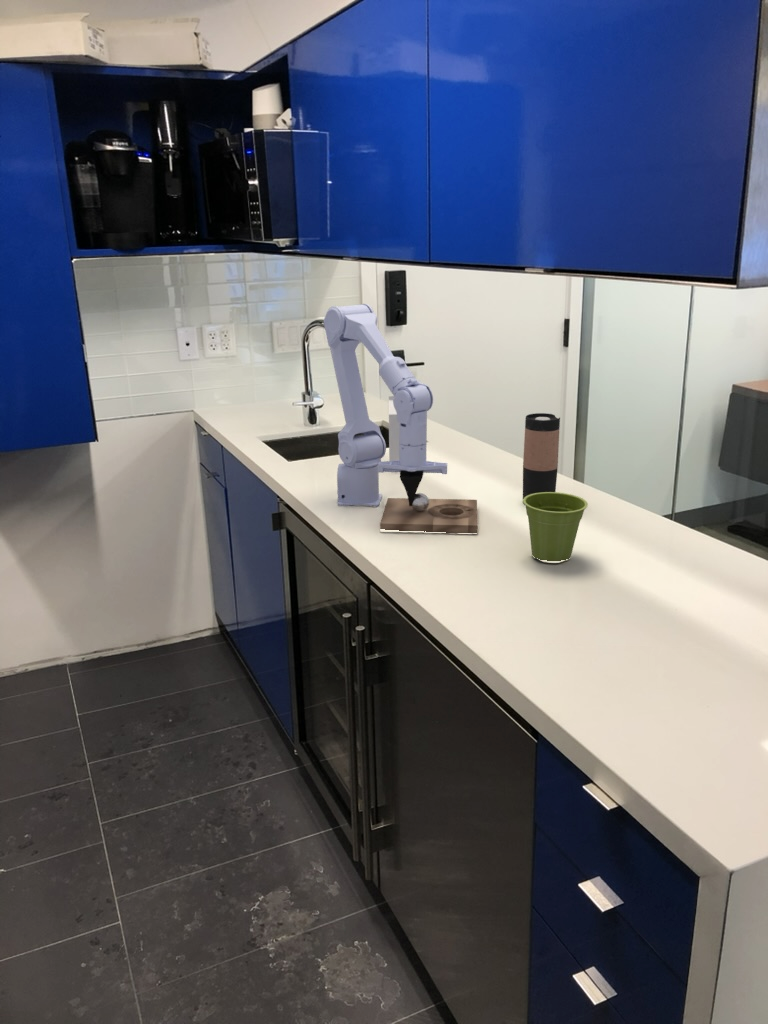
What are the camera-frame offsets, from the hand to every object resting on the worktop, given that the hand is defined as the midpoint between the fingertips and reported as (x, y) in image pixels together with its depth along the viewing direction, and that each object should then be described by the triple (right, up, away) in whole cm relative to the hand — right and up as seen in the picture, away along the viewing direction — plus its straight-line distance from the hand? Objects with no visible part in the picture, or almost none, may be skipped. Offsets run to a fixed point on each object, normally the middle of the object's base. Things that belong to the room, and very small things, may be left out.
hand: (412, 504), depth 178 cm
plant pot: (+26, -10, -20) cm, 34 cm away
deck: (+4, -3, +1) cm, 5 cm away
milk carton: (-1, +10, +40) cm, 42 cm away
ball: (+2, +1, 0) cm, 2 cm away
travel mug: (+29, 0, +11) cm, 31 cm away
